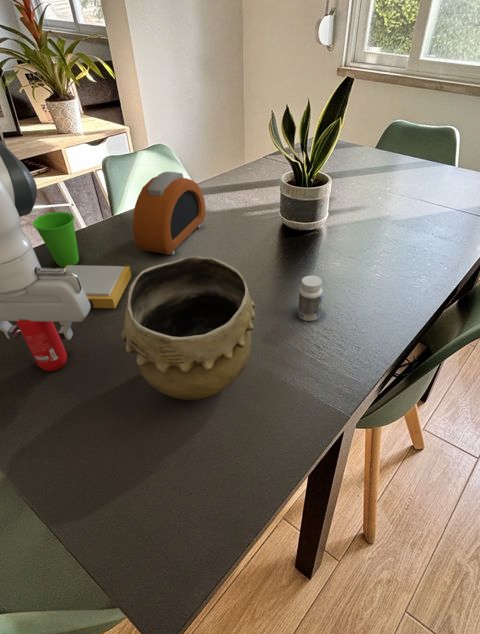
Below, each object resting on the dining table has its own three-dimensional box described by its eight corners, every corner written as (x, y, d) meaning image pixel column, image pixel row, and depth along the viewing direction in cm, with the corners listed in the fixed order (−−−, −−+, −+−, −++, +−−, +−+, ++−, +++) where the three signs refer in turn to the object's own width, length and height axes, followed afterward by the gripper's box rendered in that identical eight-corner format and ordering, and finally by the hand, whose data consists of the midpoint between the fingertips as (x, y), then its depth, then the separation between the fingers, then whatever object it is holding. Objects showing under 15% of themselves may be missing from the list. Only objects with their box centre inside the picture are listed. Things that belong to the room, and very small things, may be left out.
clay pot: (274, 411, 70) (276, 315, 57) (143, 442, 66) (111, 345, 52) (243, 333, 85) (238, 242, 72) (134, 354, 81) (107, 261, 67)
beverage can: (32, 368, 78) (5, 316, 70) (52, 350, 82) (29, 299, 73) (55, 375, 77) (30, 323, 68) (74, 357, 80) (53, 305, 72)
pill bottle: (322, 320, 88) (326, 286, 82) (300, 322, 88) (302, 288, 82) (317, 306, 92) (320, 273, 86) (295, 309, 91) (297, 275, 85)
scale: (45, 308, 91) (40, 296, 89) (69, 274, 102) (65, 262, 99) (114, 310, 91) (110, 298, 89) (131, 275, 101) (129, 264, 99)
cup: (92, 264, 105) (79, 222, 97) (54, 275, 101) (37, 232, 94) (81, 249, 110) (67, 208, 103) (44, 259, 107) (28, 217, 99)
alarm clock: (168, 262, 105) (157, 196, 94) (136, 256, 107) (121, 191, 96) (208, 222, 122) (202, 161, 110) (179, 217, 124) (171, 157, 112)
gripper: (81, 257, 67) (105, 326, 76) (-45, 256, 68) (-6, 324, 77) (66, 280, 62) (93, 350, 71) (-69, 278, 63) (-25, 348, 72)
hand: (41, 336), depth 74 cm, fingers open, 8 cm apart
